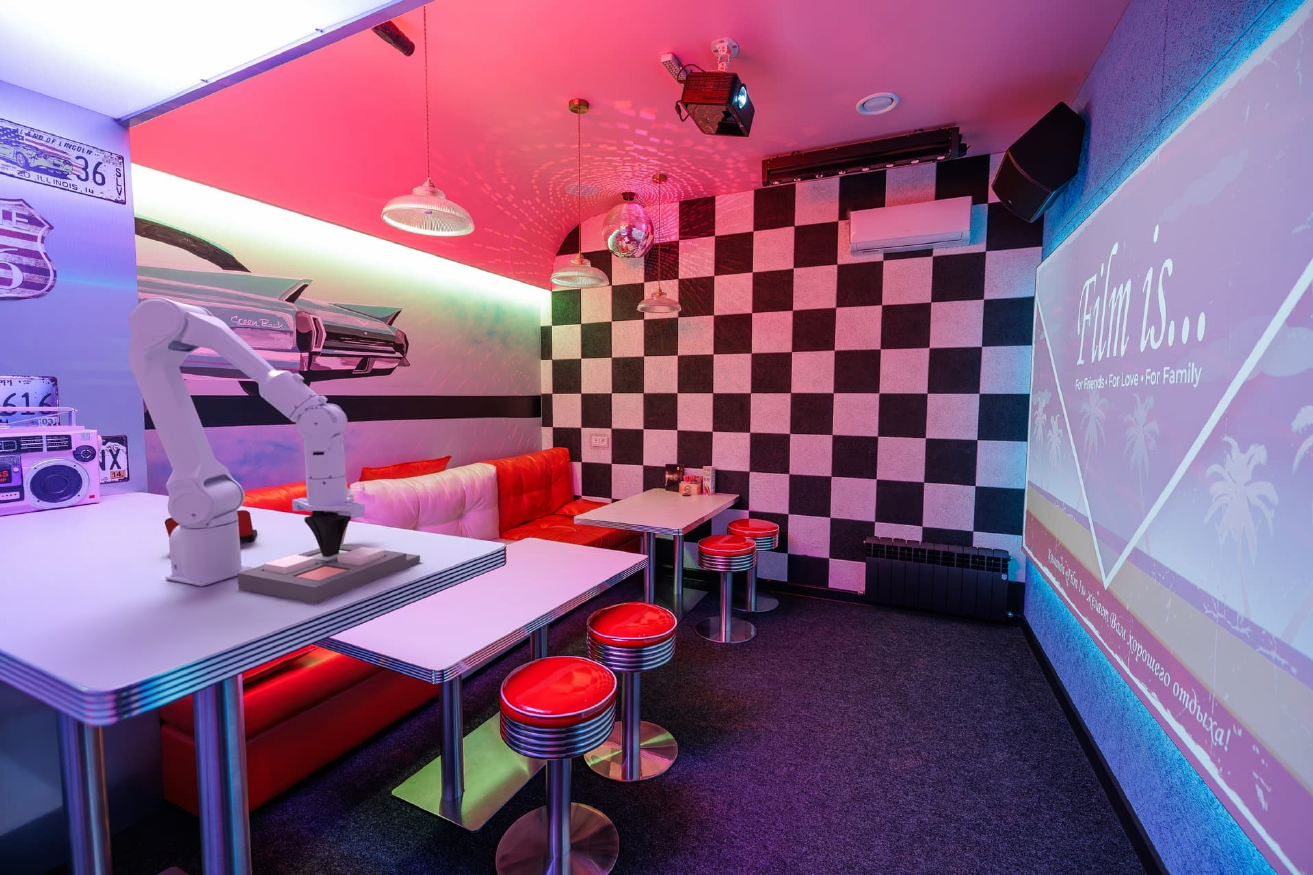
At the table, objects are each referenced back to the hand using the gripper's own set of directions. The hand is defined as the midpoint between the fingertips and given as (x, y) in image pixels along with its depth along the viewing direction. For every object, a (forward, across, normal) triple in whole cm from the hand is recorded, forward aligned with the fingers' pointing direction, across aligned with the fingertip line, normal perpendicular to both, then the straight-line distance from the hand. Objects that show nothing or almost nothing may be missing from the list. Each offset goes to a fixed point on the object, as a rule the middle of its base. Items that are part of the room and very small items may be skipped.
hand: (330, 554), depth 91 cm
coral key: (+1, -7, +7) cm, 10 cm away
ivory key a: (0, 0, +7) cm, 7 cm away
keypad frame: (+2, -4, +2) cm, 5 cm away
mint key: (+1, 0, 0) cm, 1 cm away
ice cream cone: (+2, +10, -10) cm, 15 cm away
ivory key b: (0, -7, 0) cm, 7 cm away
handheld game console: (+3, +34, -2) cm, 34 cm away
